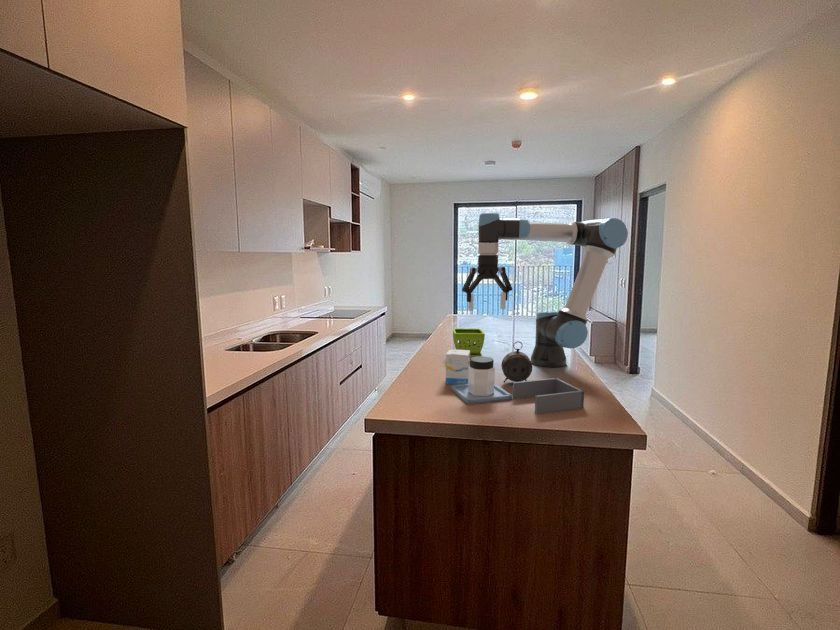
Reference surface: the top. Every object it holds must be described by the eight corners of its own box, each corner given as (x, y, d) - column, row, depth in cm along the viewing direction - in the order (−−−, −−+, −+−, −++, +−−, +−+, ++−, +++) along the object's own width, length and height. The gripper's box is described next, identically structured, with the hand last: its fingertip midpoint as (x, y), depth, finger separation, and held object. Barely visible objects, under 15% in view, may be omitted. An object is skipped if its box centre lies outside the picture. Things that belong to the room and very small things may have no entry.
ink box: (468, 385, 160) (468, 355, 158) (445, 384, 162) (445, 354, 160) (470, 378, 169) (470, 349, 167) (448, 377, 170) (448, 348, 168)
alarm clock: (529, 381, 165) (531, 340, 162) (532, 386, 159) (534, 343, 157) (500, 381, 165) (502, 339, 163) (502, 385, 160) (503, 342, 158)
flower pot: (484, 361, 195) (485, 333, 193) (453, 361, 195) (454, 333, 193) (480, 353, 208) (481, 327, 206) (451, 353, 209) (452, 327, 207)
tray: (491, 385, 161) (491, 381, 160) (512, 399, 145) (512, 395, 145) (450, 389, 156) (450, 385, 156) (468, 404, 141) (468, 400, 141)
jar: (477, 387, 157) (478, 354, 155) (497, 391, 151) (498, 358, 150) (464, 393, 150) (464, 359, 148) (484, 398, 145) (484, 363, 143)
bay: (555, 392, 152) (556, 377, 151) (583, 407, 138) (584, 391, 137) (512, 397, 147) (513, 382, 146) (536, 413, 133) (537, 396, 132)
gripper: (512, 254, 171) (511, 307, 175) (453, 254, 164) (453, 309, 168) (522, 254, 164) (520, 309, 168) (461, 254, 157) (460, 312, 161)
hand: (487, 309), depth 168 cm, fingers open, 13 cm apart
